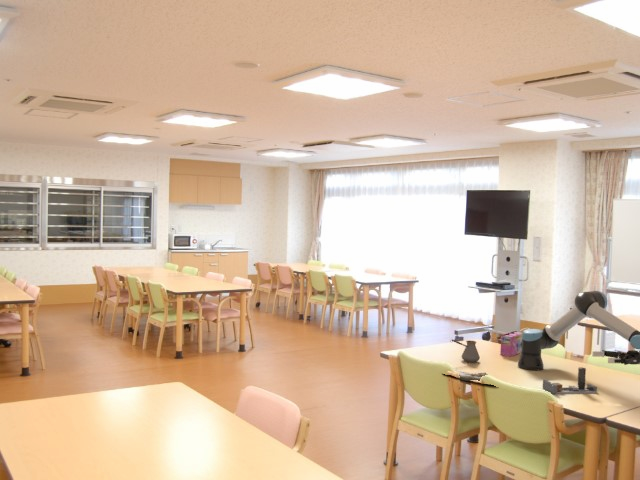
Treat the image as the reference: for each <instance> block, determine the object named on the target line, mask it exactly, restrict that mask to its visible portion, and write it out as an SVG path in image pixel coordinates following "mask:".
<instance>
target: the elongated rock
mask: <svg viewBox="0 0 640 480" xmlns="http://www.w3.org/2000/svg"><path fill="white" fill-rule="evenodd" d="M454 370H455V371H456V372H458V373H459V376H460V379H459V380H462V381H465V382H466V381H467V382H471V381H470V380H478V381H480V379H481V377H482V376H485V375H489V374H488V373H487V372H478V373H477V372H476V373H471V372H465V371H461V370H457V369H454Z"/></svg>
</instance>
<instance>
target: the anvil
mask: <svg viewBox="0 0 640 480" xmlns="http://www.w3.org/2000/svg"><path fill="white" fill-rule="evenodd" d="M553 383H554V382H551V381H549V380H547V379H542V389H543V390H545V391H546V390H547V391H546V392H548V391H549V392H548V393H550V392H551V393H550V394H552V395H553V394H557V385H555V384H553Z"/></svg>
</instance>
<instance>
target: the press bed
mask: <svg viewBox="0 0 640 480" xmlns="http://www.w3.org/2000/svg"><path fill="white" fill-rule="evenodd" d="M585 388H586V389H588V390H589V391H571V390H569V386H568V387H567V386H566V387H563V386H562V391H558V392H557V394H552V395H599V392H598V390H597V386H596V385H593V384H592V383H586V386H585Z"/></svg>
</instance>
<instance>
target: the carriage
mask: <svg viewBox="0 0 640 480" xmlns="http://www.w3.org/2000/svg"><path fill="white" fill-rule="evenodd" d="M577 370H578V371H577V386H576V385H568V387H569V390H571V391H589V390H588V389H586V388H585V387H586V371H587V368H586V367H583V366H581V367H579V366H578V368H577Z"/></svg>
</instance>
